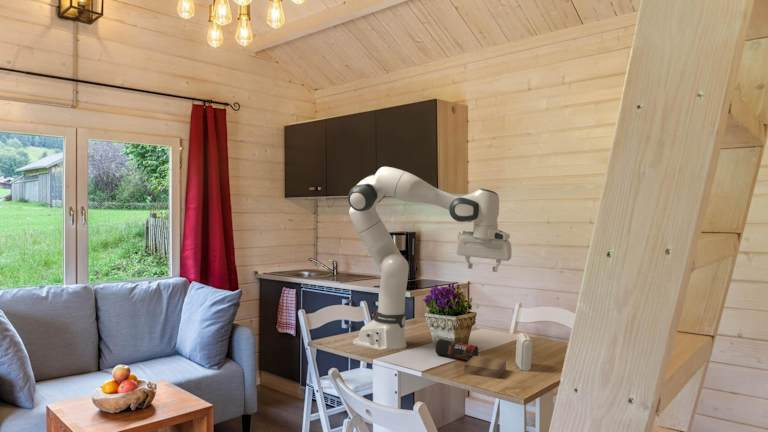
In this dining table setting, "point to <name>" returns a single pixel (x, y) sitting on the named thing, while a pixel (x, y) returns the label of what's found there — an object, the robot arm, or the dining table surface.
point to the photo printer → (523, 352)
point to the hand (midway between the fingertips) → (482, 270)
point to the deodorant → (456, 349)
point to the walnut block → (485, 367)
